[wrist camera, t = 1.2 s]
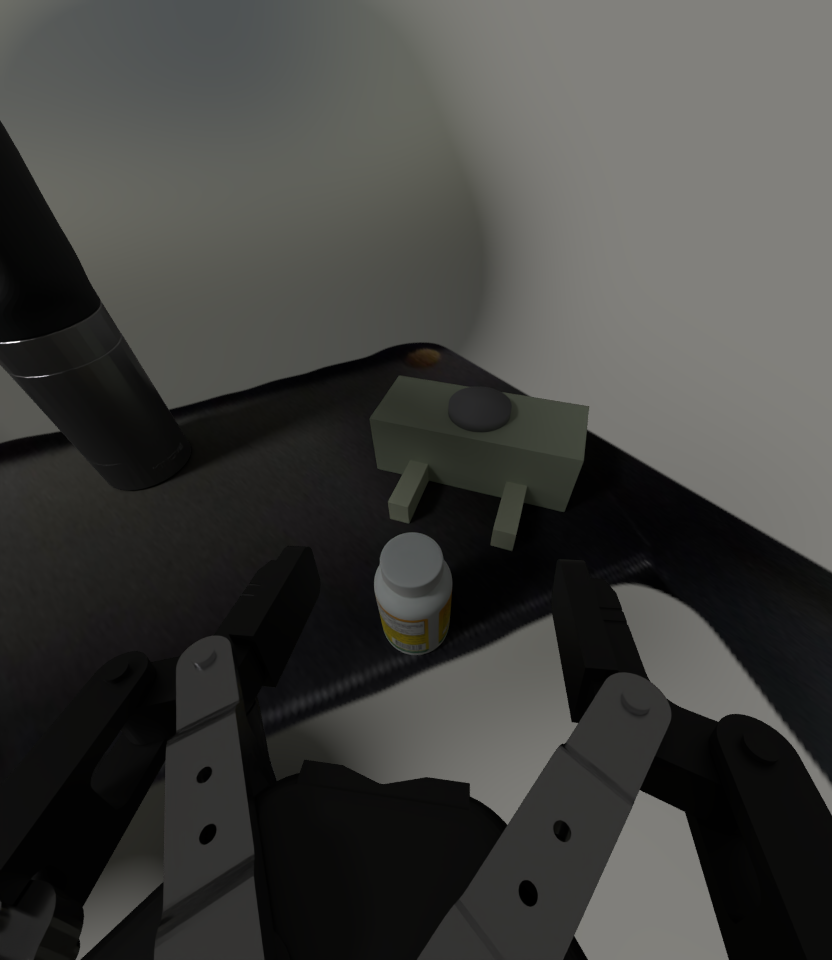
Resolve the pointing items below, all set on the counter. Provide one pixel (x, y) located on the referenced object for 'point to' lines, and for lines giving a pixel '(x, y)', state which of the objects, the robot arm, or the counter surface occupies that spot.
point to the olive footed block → (479, 447)
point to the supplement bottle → (413, 593)
